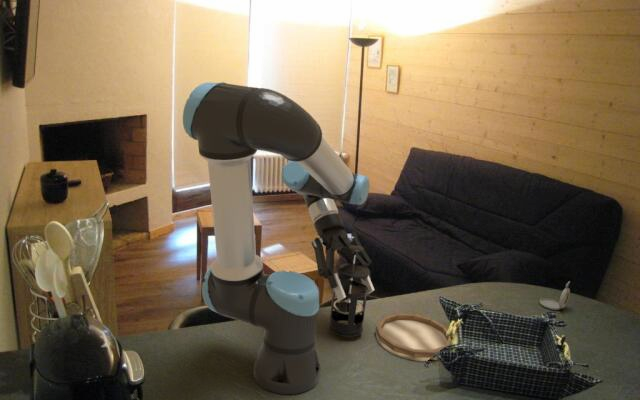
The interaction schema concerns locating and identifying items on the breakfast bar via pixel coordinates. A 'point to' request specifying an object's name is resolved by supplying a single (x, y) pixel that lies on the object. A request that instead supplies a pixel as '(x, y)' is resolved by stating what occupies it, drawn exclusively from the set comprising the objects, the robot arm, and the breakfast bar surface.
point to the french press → (347, 307)
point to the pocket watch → (554, 304)
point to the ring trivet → (412, 336)
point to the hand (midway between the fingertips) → (356, 295)
